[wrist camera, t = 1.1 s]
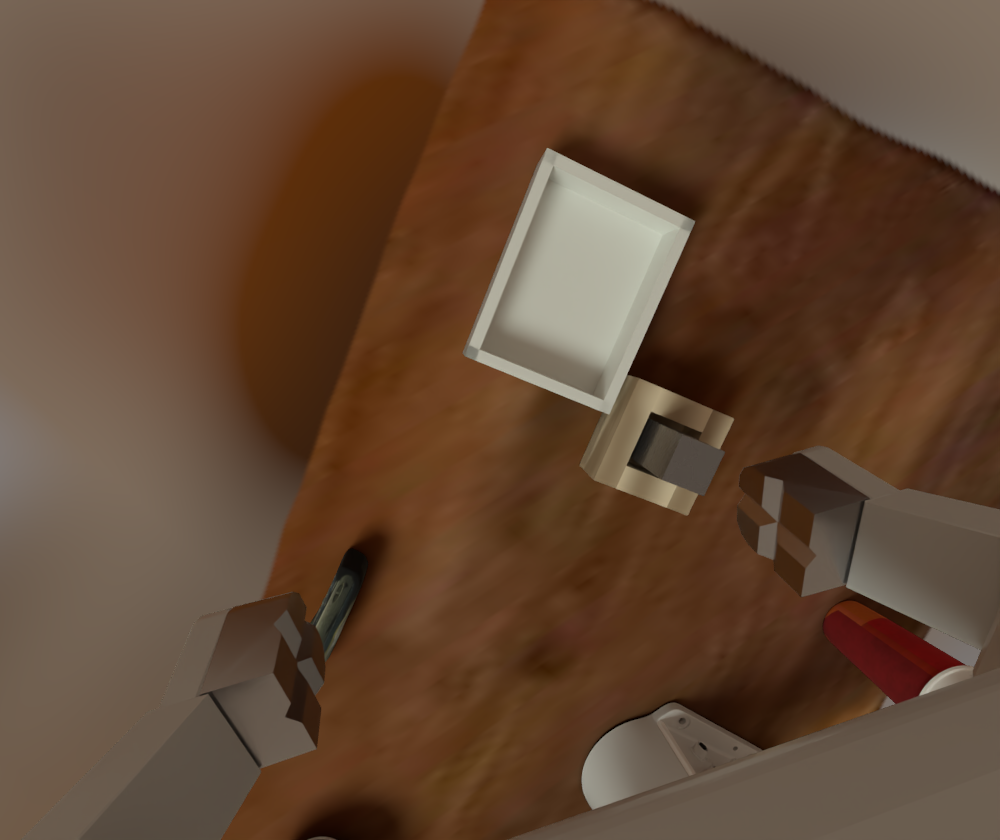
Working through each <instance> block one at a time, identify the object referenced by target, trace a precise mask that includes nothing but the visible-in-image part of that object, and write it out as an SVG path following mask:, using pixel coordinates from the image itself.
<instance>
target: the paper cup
mask: <svg viewBox="0 0 1000 840" xmlns="http://www.w3.org/2000/svg"><path fill="white" fill-rule="evenodd" d="M823 631H824V634H825V636H826V637H827V639H828V640H829V641H830V642H831V643H832V644H833V645H834V646H835V647H836V648H837V649H838V650H839V651H840V652H841V653H842V654H844V655H845V656H846V657H847V658H848V659H849V660H850V661H851V662H852V663H853V664H854V665H855V666H856V667H857V668H858V669H860V670H861V671H862V672H863V673H864V674H865V675H866V676H867V677H868V678H869V679H870V680H871V681H872V682H873V683H874V684H876V685H877V686H878V687H879V688H880V689H881V690H882V691H883V692H884V693H885V694H886V695H887V696H888V697H889V698H890V699H891V700H892V701H893V702H894V703H895V704H897V703H900V702H903V701H906V700H909V699H912V698H915V697H917V696H920V695H923V694H926V693H929V692H932V691H935V690H938V689H940V688H943V687H946V686H949V685H952V684H955V683H958V682H960V681H963V680H966V679H969V678H972V677H973V669H974V667H972V666H967V665H965V664H963V663H961V662H960V661H958V660H956V659H955V658H953V657H951V656H950V655H948V654H946V653H945V652H943V651H941V650H940V649H938V648H936V647H934V646H933V645H931V644H929V643H928V642H926V641H924V640H923V639H921V638H919V637H918V636H916V635H914V634H913V633H911V632H909V631H907V630H906V629H904V628H902V627H901V626H899V625H897V624H896V623H894V622H892V621H890V620H889V619H887V618H885V617H884V616H882V615H880V614H878V613H877V612H875V611H873V610H871V609H870V608H868V607H866V606H864V605H862V604H860V603H858V602H856V601H843V602H840V603H838V604H836V605H835V606H833V607H832V608H831V609H830V610H829V611H828V613H827V614H826V616H825V618H824V622H823Z"/></svg>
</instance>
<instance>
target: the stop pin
mask: <svg viewBox="0 0 1000 840" xmlns="http://www.w3.org/2000/svg"><path fill="white" fill-rule="evenodd" d="M724 453H725V452H724V451H722V450H720V449H718V448H715V447H713V446H711V445H709V444H707V443H705V442H702V441H700V440H698V439H696V438H694V437H691V436H689V435H687V434H685V433H683V432H681V431H678V430H676V429H674V428H671V427H669V426H667V425H664V424H662V423H659V422H657V421H654V420H652V419H650V418H648V419H647V422H646V424H645V426H644V428H643V430H642V432H641V435H640V437H639V439H638V441H637V443H636V446H635V448H634V450H633V452H632V454H631V458H632V459H633V460H635V461H636V462H638V463H639V464H640V465H642V466H643V467H644V468H646V469H647V470H649V471H650V472H651V473H653V474H654V475H656V476H657V477H658V478H660V479H661V480H663V481H666V482H669V483H671V484H674V485H676V486H679V487H681V488H684V489H687V490H689V491H692V492H694V493H697V494H699V495H702V496H704V494H705V492H706V490H707V488H708V486H709V484H710V482H711V480H712V478H713V476H714V474H715V472H716V470H717V468H718V466H719V463H720V461H721V459H722V457H723V455H724Z"/></svg>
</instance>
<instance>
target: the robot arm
mask: <svg viewBox="0 0 1000 840" xmlns="http://www.w3.org/2000/svg"><path fill="white" fill-rule="evenodd" d="M739 487H740V488H741V489H742V491H743V492H744V493H745V495H744V497H743V498H742V500H741V501H740V503H739V504H738V505H737V522H738V525H739V528H740V531H741V534H742V535H743V537H744V539H745V540H746V542H747V543H748V545H749V546H750V547H751V548H752V549H753V550H754V551H755V552H756V553H757V554H760V555H762V556H765V557H768V558H770V559H773V562H774V571H775V572H776V573H777V574H778V575H779V576H780V577H781V578H782V579H783V580H784V581H785V582H786V583H787V584H788V585H789V586H790V587H791V588H792V589H793V590H794V591H795V592H796V593H797V594H798V595H799V596H800V597H804V596H807V595H811V594H815V593H818V592H822V591H825V590H829V589H832V588H836V587H839V586H843V585H846V587H847V588H849V589H851V590H853V591H855V592H858V593H860V594H862V595H864V596H866V597H868V598H870V599H872V600H875V601H877V602H879V603H881V604H883V605H885V606H887V607H890V608H892V609H894V610H896V611H898V612H900V613H902V614H904V615H907V616H909V617H911V618H913V619H915V620H917V621H919V622H921V623H924V624H926V625H928V626H930V627H932V628H934V629H936V630H939V631H941V632H943V633H945V634H947V635H949V636H951V637H953V638H956V639H958V640H960V641H962V642H964V643H966V644H968V645H971V646H973V647H975V648H977V649H979V650H981V652H980V655H979V657H978V660H977V662H976V664H975V666H974V669H973V677H972V678H969V679H966V680H963V681H960V682H958V683H955V684H952V685H949V686H946V687H943V688H940V689H938V690H935V691H932V692H929V693H926V694H923V695H920V696H917V697H915V698H912V699H909V700H906V701H903V702H900V703H897V704H895V705H892V706H889V707H886V708H883V709H880V710H877V711H875V712H872V713H869V714H866V715H863V716H860V717H857V718H854V719H852V720H849V721H846V722H843V723H840V724H837V725H834V726H832V727H829V728H826V729H823V730H820V731H817V732H814V733H811V734H809V735H806V736H803V737H800V738H797V739H794V740H791V741H789V742H786V743H783V744H780V745H777V746H774V747H771V748H768V749H766V750H761V749H760V748H758V747H756V746H755V745H753V744H751V743H749V742H747V741H746V740H744V739H742V738H740V737H738V736H736V735H735V734H733V733H731V732H729V731H727V730H725V729H724V728H722V727H720V726H718V725H716V724H715V723H713V722H711V721H709V720H707V719H705V718H704V717H702V716H700V715H698V714H696V713H694V712H693V711H691V710H689V709H687V708H685V707H684V706H682V705H680V704H678V703H669V704H666V705H664V706H663V707H661V708H660V709H658V710H657V711H655V712H654V713H652V714H651V715H649V716H646V717H643V718H640V719H636V720H632V721H629V722H627V723H624V724H622V725H620V726H618V727H616V728H614V729H613V730H611V731H610V732H609V733H607V734H606V735H605V736H604V737H602V738H601V739H600V740H599V741H598V742H597V744H596V745H595V746H594V747H593V749H592V750H591V752H590V753H589V755H588V757H587V759H586V761H585V764H584V768H583V772H582V788H583V793H584V795H585V798H586V800H587V802H588V803H589V805H590V807H591V808H592V810H591V811H588V812H585V813H582V814H579V815H576V816H573V817H571V818H568V819H565V820H562V821H559V822H556V823H553V824H551V825H548V826H545V827H542V828H539V829H536V830H533V831H531V832H528V833H525V834H522V835H519V836H516V837H513V838H511V839H508V840H1000V510H999V509H995V508H990V507H986V506H982V505H977V504H973V503H969V502H964V501H960V500H955V499H951V498H947V497H942V496H938V495H934V494H929V493H925V492H920V491H916V490H912V489H905V490H901V491H899V490H898V489H896V488H894V487H893V486H891V485H889V484H888V483H886V482H884V481H883V480H881V479H879V478H878V477H876V476H874V475H873V474H871V473H869V472H868V471H866V470H864V469H863V468H861V467H859V466H858V465H856V464H854V463H853V462H851V461H849V460H848V459H846V458H844V457H843V456H841V455H839V454H838V453H836V452H834V451H833V450H831V449H829V448H827V447H823V446H815V447H812V448H809V449H805V450H802V451H799V452H795V453H793V454H791V455H787V456H783V457H780V458H776V459H773V460H769V461H766V462H762V463H759V464H755V465H752V466H748V467H745V468H743V470H742V472H741V474H740V478H739ZM306 608H307V607H306V605H305V604H304V602H303V600H302V598H301V596H300V594H299V593H296V592H291V593H287V594H283V595H279V596H275V597H271V598H267V599H263V600H259V601H255V602H251V603H247V604H243V605H239V606H235V607H233V608H230V609H225V610H221V611H217V612H214V613H210V614H206V615H202V616H201V617H200V618H199V619H197V620H196V621H195V622H194V624H193V626H192V629H191V631H190V634H189V636H188V638H187V641H186V644H185V646H184V648H183V650H182V653H181V655H180V658H179V660H178V663H177V665H176V667H175V670H174V672H173V674H172V677H171V679H170V682H169V684H168V686H167V689H166V691H165V694H164V696H163V699H162V701H161V703H160V706H159V708H158V709H155V710H151V711H148V712H147V713H146V714H145V715H144V716H143V717H142V718H141V719H140V720H139V721H138V722H137V723H136V724H135V725H134V726H133V727H132V728H131V729H130V730H129V731H128V732H127V733H126V734H125V735H124V736H123V737H122V738H121V739H120V740H119V741H118V742H117V743H116V744H115V745H114V746H113V747H112V748H111V749H110V750H109V751H108V752H107V753H106V754H105V755H104V756H103V757H102V758H101V759H100V760H99V761H98V762H97V763H96V764H95V765H94V766H93V768H92V769H90V770H89V771H88V772H87V773H86V774H85V775H84V777H82V779H80V781H78V783H76V785H75V786H74V787H73V788H72V789H71V790H70V791H69V792H68V793H67V794H66V795H65V796H64V797H63V798H62V799H61V800H60V801H59V802H58V803H57V804H56V805H55V806H54V807H53V808H52V809H51V810H50V811H49V812H48V813H47V814H46V815H45V816H44V817H43V818H42V819H41V820H40V821H39V822H38V823H37V824H36V825H35V826H34V827H33V828H32V829H31V830H30V831H29V832H28V833H27V834H26V835H25V836H24V837H23V838H22V839H21V840H221V838H222V836H223V835H224V833H225V831H226V830H227V828H228V826H229V825H230V823H231V821H232V820H233V818H234V816H235V815H236V813H237V811H238V810H239V808H240V806H241V805H242V803H243V801H244V800H245V798H246V796H247V795H248V793H249V791H250V790H251V788H252V786H253V785H254V783H255V781H256V780H257V778H258V776H259V775H260V773H261V770H260V768H263V767H266V766H269V765H272V764H274V763H277V762H280V761H283V760H286V759H289V758H292V757H295V756H298V755H301V754H304V753H306V752H309V751H312V750H315V749H317V743H318V734H319V725H320V716H321V707H320V705H319V703H318V701H317V699H316V697H315V695H316V694H317V692H318V691H319V689H320V688H321V687H322V685H323V684H324V678H325V657H324V648H323V644H322V641H321V637H320V635H319V632H318V630H317V628H316V626H315V625H313V624H311V623H308V622H306V621H305V615H306ZM681 718H682V719H681Z"/></svg>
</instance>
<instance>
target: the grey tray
mask: <svg viewBox="0 0 1000 840" xmlns="http://www.w3.org/2000/svg"><path fill="white" fill-rule="evenodd" d="M694 223H695V221H694V220H692V219H690V218H688V217H686V216H684V215H682V214H680V213H678V212H676V211H674V210H672V209H670V208H667V207H665V206H663V205H661V204H659V203H657V202H655V201H653V200H651V199H649V198H647V197H645V196H643V195H641V194H639V193H637V192H635V191H633V190H631V189H629V188H627V187H625V186H623V185H621V184H619V183H617V182H615V181H613V180H611V179H609V178H607V177H605V176H603V175H601V174H599V173H597V172H595V171H593V170H591V169H589V168H587V167H585V166H583V165H581V164H579V163H577V162H575V161H573V160H571V159H569V158H567V157H565V156H563V155H561V154H559V153H557V152H555V151H553V150H551V149H549V148H547V149H546V151H545V153H544V154H543V156H542V158H541V159H540V161H539V163H538V164H537V167H536V169H535V172H534V174H533V177H532V179H531V182H530V184H529V187H528V189H527V192H526V194H525V197H524V199H523V202H522V204H521V207H520V209H519V212H518V215H517V217H516V220H515V222H514V225H513V227H512V230H511V232H510V235H509V237H508V240H507V242H506V245H505V247H504V250H503V252H502V255H501V257H500V260H499V262H498V265H497V268H496V270H495V273H494V275H493V278H492V280H491V283H490V285H489V288H488V290H487V293H486V295H485V298H484V300H483V303H482V305H481V308H480V310H479V313H478V315H477V318H476V321H475V323H474V326H473V328H472V331H471V333H470V336H469V338H468V341H467V343H466V346H465V348H464V351H463V354H464V356H466V357H468V358H471V359H473V360H476V361H478V362H481V363H483V364H485V365H488V366H490V367H493V368H495V369H498V370H500V371H503V372H505V373H508V374H510V375H513V376H515V377H518V378H520V379H522V380H525V381H527V382H530V383H532V384H535V385H537V386H540V387H542V388H545V389H547V390H550V391H552V392H554V393H557V394H559V395H562V396H564V397H567V398H569V399H572V400H574V401H577V402H579V403H582V404H584V405H586V406H589V407H591V408H594V409H596V410H599V411H601V412H604V413H606V414H610V412H611V410H612V407H613V405H614V403H615V401H616V398H617V396H618V394H619V392H620V389H621V387H622V385H623V383H624V380H625V378H626V376H627V374H628V371H629V369H630V367H631V365H632V362H633V360H634V358H635V356H636V353H637V351H638V349H639V347H640V344H641V342H642V340H643V338H644V335H645V333H646V331H647V329H648V327H649V324H650V322H651V320H652V318H653V315H654V313H655V311H656V309H657V306H658V304H659V302H660V300H661V297H662V295H663V293H664V291H665V288H666V286H667V284H668V282H669V279H670V277H671V275H672V273H673V270H674V268H675V266H676V264H677V261H678V259H679V257H680V255H681V252H682V250H683V248H684V246H685V243H686V241H687V239H688V237H689V235H690V232H691V230H692V228H693V226H694Z"/></svg>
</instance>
